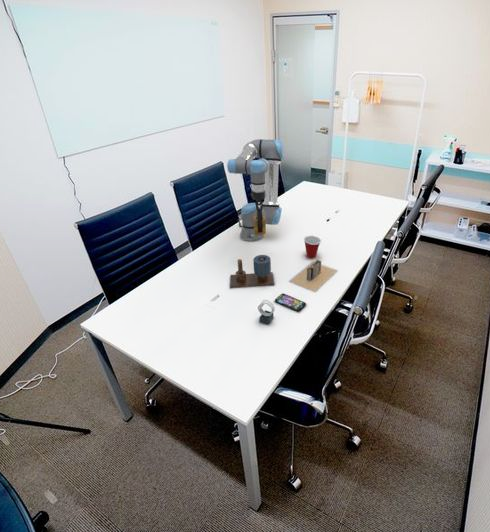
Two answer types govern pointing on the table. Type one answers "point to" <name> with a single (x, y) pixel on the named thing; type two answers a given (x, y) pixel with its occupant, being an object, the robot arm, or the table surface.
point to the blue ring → (262, 265)
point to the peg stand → (249, 278)
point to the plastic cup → (312, 245)
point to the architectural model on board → (313, 276)
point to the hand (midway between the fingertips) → (260, 229)
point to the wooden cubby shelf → (257, 225)
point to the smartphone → (290, 302)
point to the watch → (266, 312)
